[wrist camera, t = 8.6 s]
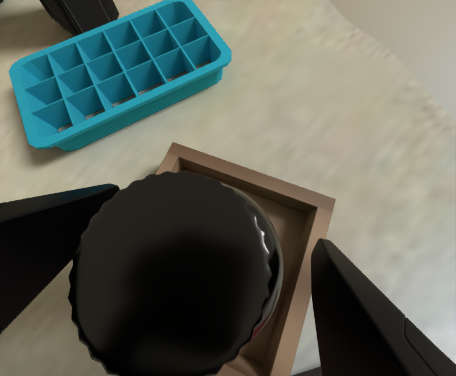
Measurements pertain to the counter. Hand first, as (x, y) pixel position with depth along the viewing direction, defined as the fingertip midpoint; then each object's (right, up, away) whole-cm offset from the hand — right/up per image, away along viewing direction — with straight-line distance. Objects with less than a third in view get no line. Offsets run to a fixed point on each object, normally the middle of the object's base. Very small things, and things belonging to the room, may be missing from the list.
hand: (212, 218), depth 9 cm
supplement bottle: (0, -4, +7) cm, 8 cm away
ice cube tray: (-10, +13, +15) cm, 22 cm away
